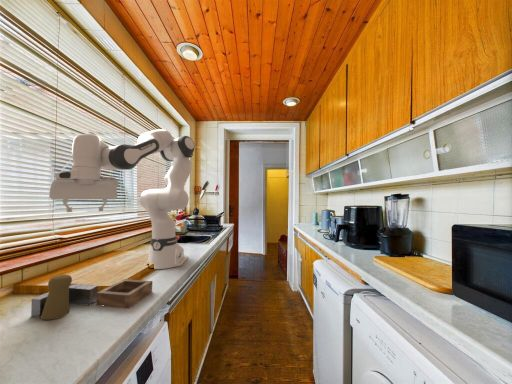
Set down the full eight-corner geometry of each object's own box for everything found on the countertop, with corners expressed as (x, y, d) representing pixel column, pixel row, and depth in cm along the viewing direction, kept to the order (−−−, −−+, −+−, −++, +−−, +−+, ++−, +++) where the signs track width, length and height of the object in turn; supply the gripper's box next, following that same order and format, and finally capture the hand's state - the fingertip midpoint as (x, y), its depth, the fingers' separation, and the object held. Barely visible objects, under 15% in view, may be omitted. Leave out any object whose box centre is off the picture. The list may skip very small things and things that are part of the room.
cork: (58, 319, 60) (64, 279, 61) (34, 319, 59) (41, 278, 60) (74, 309, 66) (79, 273, 67) (52, 308, 65) (58, 272, 66)
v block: (36, 307, 67) (36, 290, 67) (97, 293, 76) (98, 279, 76) (29, 319, 60) (29, 301, 60) (97, 303, 69) (98, 287, 70)
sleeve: (123, 290, 80) (123, 279, 80) (151, 292, 78) (152, 281, 78) (96, 305, 68) (96, 292, 68) (128, 308, 66) (128, 295, 67)
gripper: (117, 177, 91) (117, 210, 91) (52, 174, 79) (51, 212, 78) (119, 176, 86) (118, 211, 85) (48, 173, 74) (47, 213, 73)
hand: (85, 211), depth 82 cm, fingers open, 8 cm apart
